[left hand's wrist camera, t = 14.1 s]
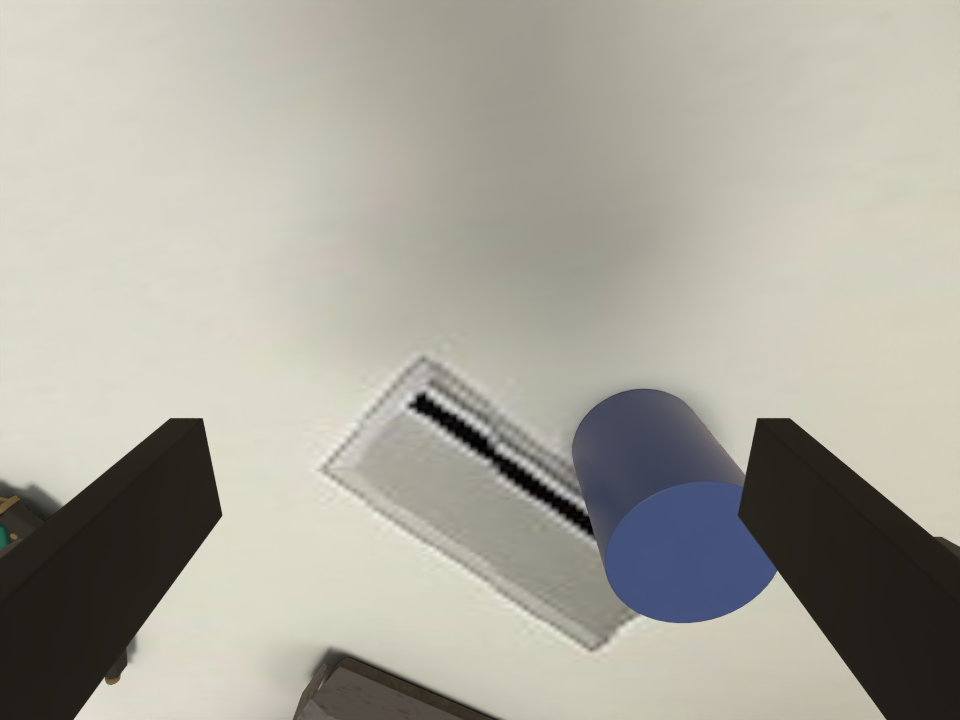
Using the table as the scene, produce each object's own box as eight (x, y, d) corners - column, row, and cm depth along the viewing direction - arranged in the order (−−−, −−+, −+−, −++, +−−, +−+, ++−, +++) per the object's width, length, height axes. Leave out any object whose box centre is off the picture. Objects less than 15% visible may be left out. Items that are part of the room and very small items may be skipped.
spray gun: (129, 672, 46) (-45, 604, 44) (179, 545, 40) (-22, 458, 38) (94, 722, 42) (-100, 649, 40) (143, 590, 36) (-84, 495, 34)
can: (559, 492, 38) (586, 611, 28) (589, 379, 35) (632, 468, 25) (679, 510, 39) (748, 633, 29) (720, 400, 36) (813, 496, 26)
